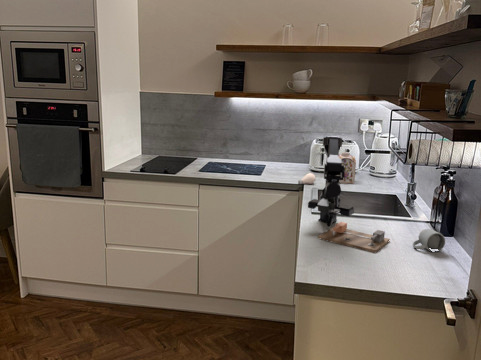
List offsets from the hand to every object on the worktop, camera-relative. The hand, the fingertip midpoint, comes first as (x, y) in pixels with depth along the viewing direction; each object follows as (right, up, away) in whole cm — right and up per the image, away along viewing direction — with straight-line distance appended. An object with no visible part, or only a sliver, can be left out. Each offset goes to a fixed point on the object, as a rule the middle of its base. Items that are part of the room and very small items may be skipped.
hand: (329, 226), depth 203 cm
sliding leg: (+3, -2, -5) cm, 6 cm away
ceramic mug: (+35, -7, -16) cm, 39 cm away
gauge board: (+8, -4, -9) cm, 13 cm away
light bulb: (+2, +17, +84) cm, 86 cm away
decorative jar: (+26, +19, +94) cm, 99 cm away
